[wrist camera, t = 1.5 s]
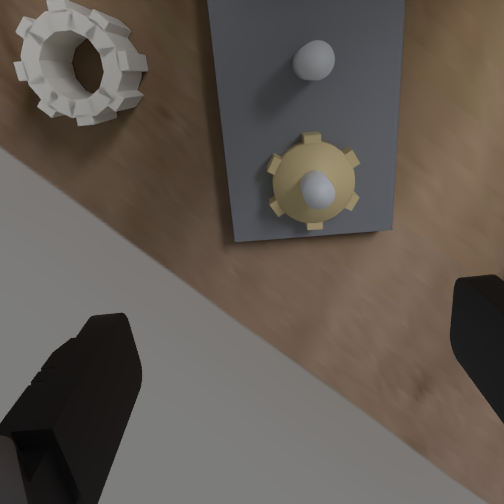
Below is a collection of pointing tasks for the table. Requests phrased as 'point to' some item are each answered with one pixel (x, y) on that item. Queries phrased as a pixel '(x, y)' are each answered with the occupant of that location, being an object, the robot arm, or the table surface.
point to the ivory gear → (61, 56)
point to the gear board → (308, 113)
